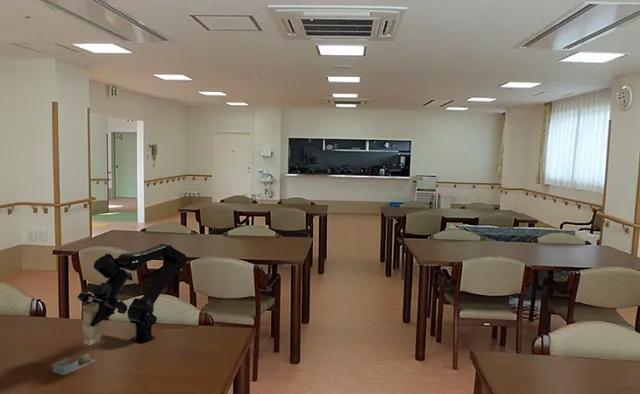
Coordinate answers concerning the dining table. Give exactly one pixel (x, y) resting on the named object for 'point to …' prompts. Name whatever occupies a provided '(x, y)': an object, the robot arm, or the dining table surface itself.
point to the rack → (66, 366)
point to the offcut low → (84, 361)
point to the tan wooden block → (89, 332)
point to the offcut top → (82, 357)
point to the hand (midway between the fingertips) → (88, 325)
